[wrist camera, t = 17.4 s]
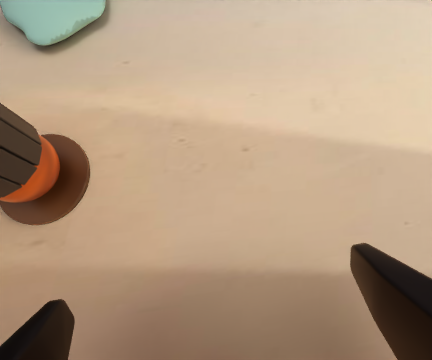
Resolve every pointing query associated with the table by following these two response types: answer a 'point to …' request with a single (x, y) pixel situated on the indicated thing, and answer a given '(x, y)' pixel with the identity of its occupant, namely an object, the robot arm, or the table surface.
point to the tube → (17, 151)
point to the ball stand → (51, 183)
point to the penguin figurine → (51, 17)
